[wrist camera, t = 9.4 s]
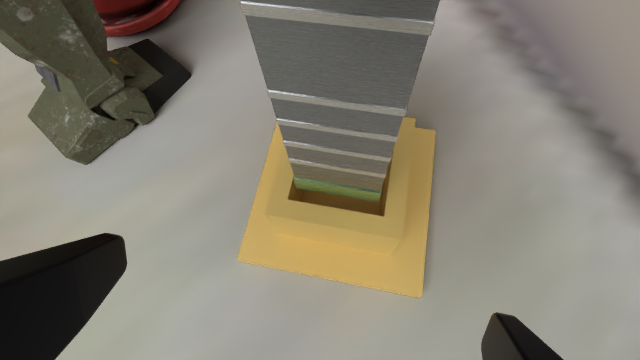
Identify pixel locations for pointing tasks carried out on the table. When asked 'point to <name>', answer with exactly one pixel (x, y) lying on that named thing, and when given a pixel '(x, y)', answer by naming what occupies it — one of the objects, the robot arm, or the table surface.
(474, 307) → the table surface
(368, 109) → the column
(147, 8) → the plant pot
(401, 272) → the stand base
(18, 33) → the mechanical leg
